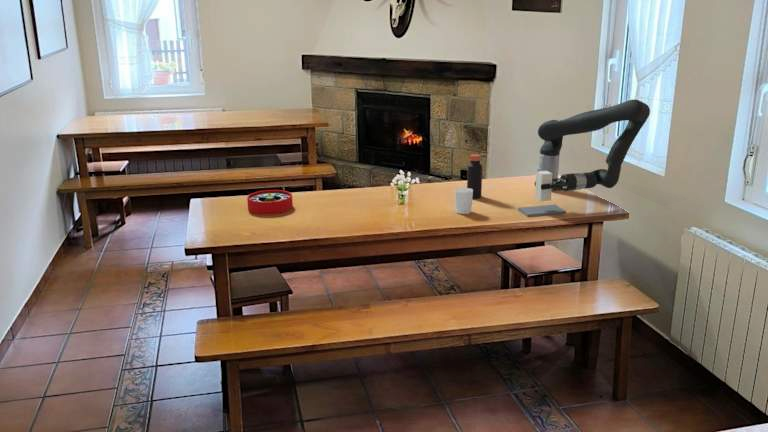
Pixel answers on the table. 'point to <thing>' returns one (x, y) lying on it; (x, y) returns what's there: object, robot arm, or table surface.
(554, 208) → the mat
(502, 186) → the table surface
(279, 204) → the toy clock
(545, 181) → the block
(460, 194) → the white cup
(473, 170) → the bottle
